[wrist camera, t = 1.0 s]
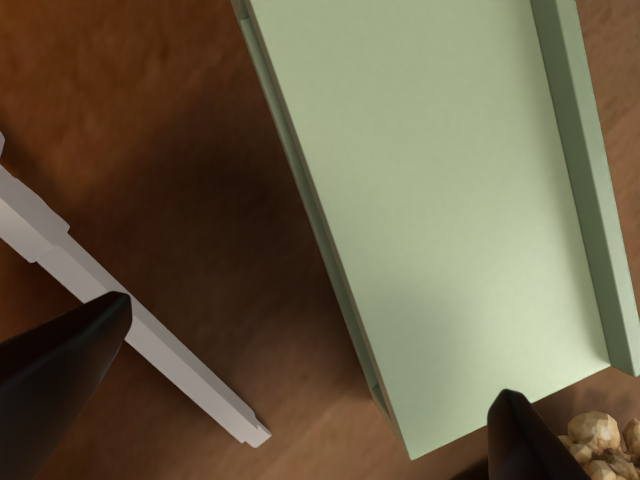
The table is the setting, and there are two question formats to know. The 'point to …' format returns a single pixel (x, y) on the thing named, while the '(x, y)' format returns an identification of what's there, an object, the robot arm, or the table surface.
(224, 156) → the table surface
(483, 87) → the desk shelf
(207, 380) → the caliper
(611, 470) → the mineral formation
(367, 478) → the table surface
